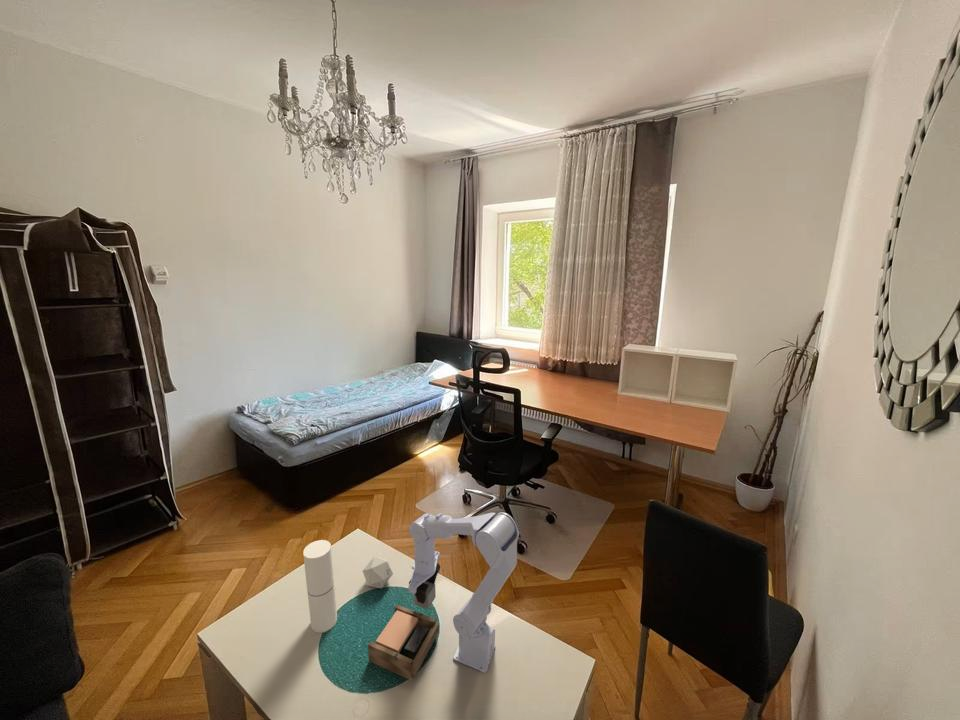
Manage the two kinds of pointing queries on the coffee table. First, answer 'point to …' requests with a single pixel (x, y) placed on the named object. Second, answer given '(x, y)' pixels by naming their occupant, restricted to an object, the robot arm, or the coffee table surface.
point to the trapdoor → (402, 634)
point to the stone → (427, 596)
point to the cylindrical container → (320, 585)
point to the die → (377, 572)
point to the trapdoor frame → (398, 661)
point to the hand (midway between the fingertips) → (425, 594)
